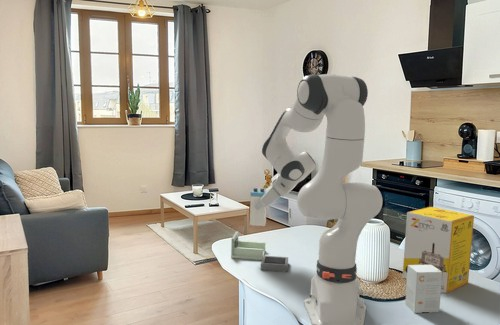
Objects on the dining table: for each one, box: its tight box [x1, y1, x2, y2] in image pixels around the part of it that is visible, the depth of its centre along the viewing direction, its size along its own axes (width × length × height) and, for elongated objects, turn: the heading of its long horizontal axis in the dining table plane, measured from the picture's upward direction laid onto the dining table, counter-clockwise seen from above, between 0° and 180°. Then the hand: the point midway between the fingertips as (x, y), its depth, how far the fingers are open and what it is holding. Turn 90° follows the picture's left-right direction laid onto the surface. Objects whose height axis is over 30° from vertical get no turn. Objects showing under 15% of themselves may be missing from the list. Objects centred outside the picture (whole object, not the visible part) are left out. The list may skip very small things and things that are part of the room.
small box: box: [404, 265, 442, 314], centre depth 126 cm, size 8×6×13 cm
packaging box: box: [402, 206, 475, 294], centre depth 147 cm, size 16×16×25 cm
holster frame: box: [260, 255, 289, 273], centre depth 158 cm, size 9×10×2 cm
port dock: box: [230, 230, 266, 261], centre depth 171 cm, size 12×13×8 cm
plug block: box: [249, 187, 267, 227], centre depth 166 cm, size 5×6×15 cm
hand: (256, 206), depth 166 cm, fingers closed on plug block, 5 cm apart
